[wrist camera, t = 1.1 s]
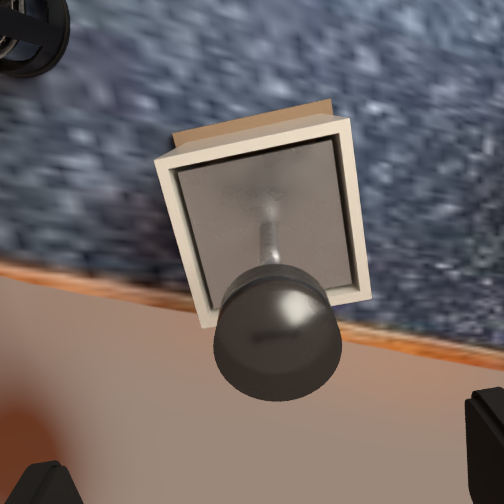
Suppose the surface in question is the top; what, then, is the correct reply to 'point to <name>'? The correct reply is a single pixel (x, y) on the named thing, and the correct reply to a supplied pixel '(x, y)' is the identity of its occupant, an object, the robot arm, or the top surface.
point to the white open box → (252, 143)
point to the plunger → (272, 266)
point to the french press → (33, 36)
